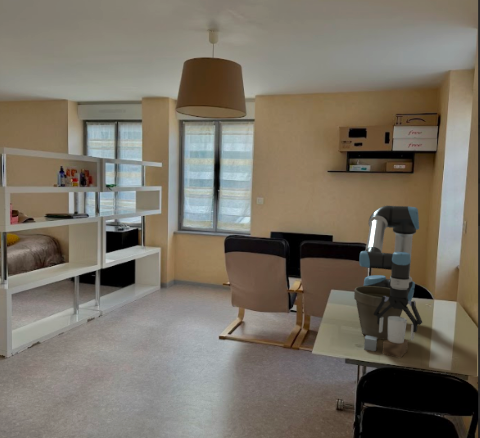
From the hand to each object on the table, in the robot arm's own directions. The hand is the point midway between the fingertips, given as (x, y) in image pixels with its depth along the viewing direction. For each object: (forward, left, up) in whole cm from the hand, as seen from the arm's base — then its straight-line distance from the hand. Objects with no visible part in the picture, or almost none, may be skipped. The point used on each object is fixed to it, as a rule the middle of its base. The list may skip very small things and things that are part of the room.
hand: (396, 335), depth 192 cm
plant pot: (-14, +19, -8) cm, 25 cm away
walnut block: (0, 0, -8) cm, 8 cm away
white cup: (0, 0, -3) cm, 3 cm away
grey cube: (-10, -3, -8) cm, 13 cm away
